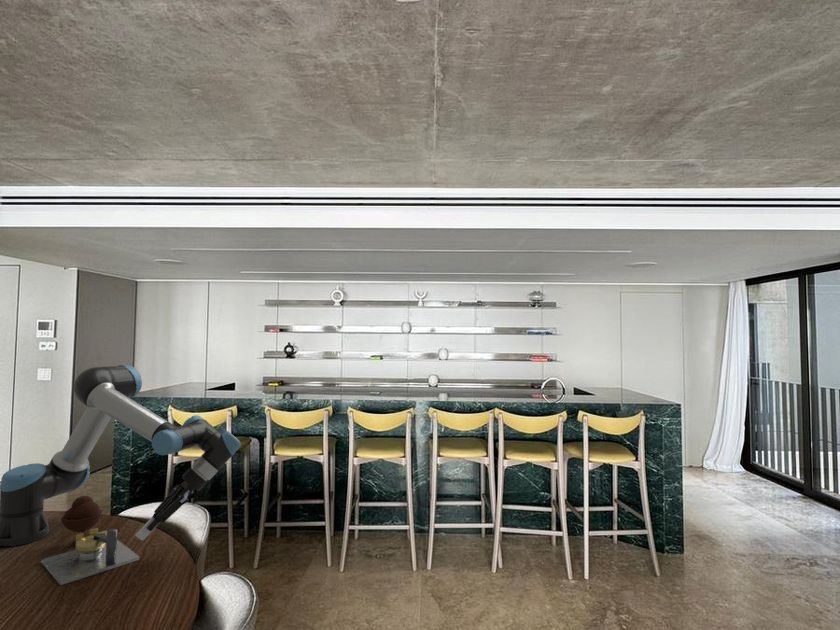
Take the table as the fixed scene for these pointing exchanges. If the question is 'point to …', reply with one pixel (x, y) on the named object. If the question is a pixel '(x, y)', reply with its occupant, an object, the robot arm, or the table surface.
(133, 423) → the robot arm
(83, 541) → the multicoloured piece
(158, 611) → the table surface
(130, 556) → the mounting plate
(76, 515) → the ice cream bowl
